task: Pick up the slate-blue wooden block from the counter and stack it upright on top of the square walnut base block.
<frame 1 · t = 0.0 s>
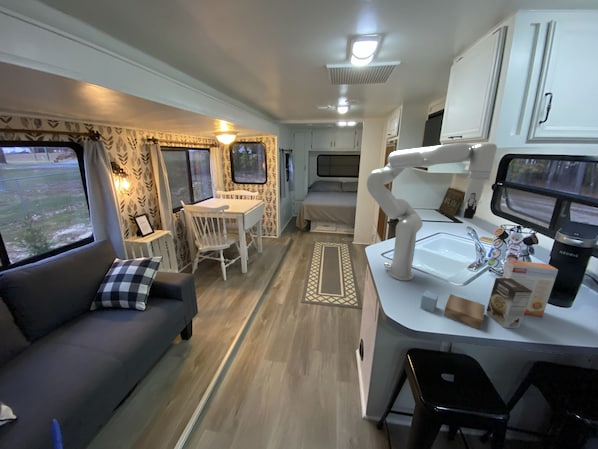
hand: (469, 216, 101), 37 cm above the worktop, tool pointing down, fingers open, 9 cm apart
cracker box: (517, 309, 99), on the worktop
blue block: (428, 307, 99), on the worktop
walnut base: (463, 314, 95), on the worktop
coffee box: (501, 320, 92), on the worktop
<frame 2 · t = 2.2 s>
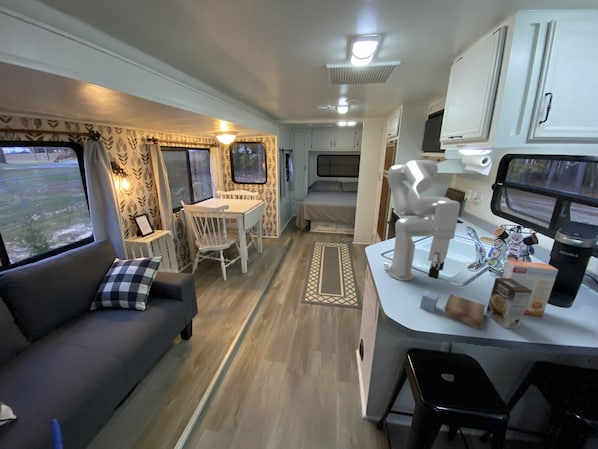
hand: (435, 273, 94), 16 cm above the worktop, tool pointing down, fingers open, 9 cm apart
nothing on the worktop moved.
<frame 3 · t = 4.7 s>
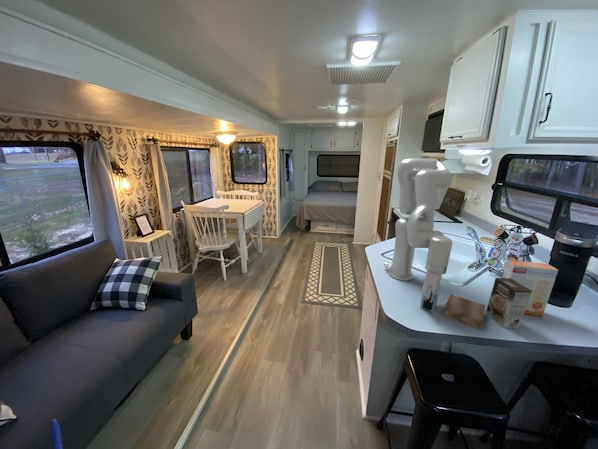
hand: (428, 305, 99), 1 cm above the worktop, tool pointing down, fingers closed on blue block, 5 cm apart
blue block: (428, 307, 99), on the worktop, touching gripper
everything else where it was.
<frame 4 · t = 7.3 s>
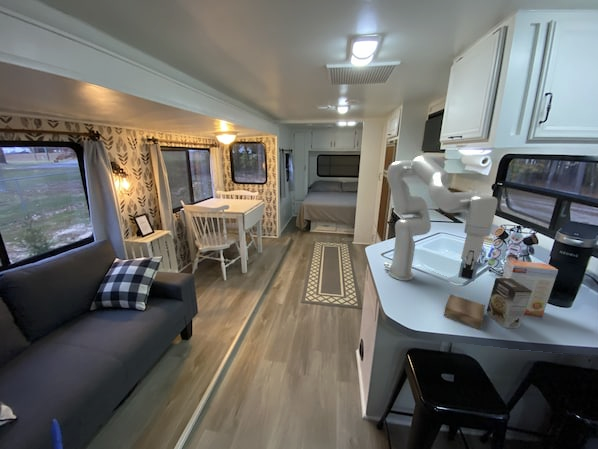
hand: (467, 274, 90), 18 cm above the worktop, tool pointing down, fingers closed on blue block, 5 cm apart
blue block: (466, 276, 91), point 17 cm above the worktop, touching gripper
everything else where it was.
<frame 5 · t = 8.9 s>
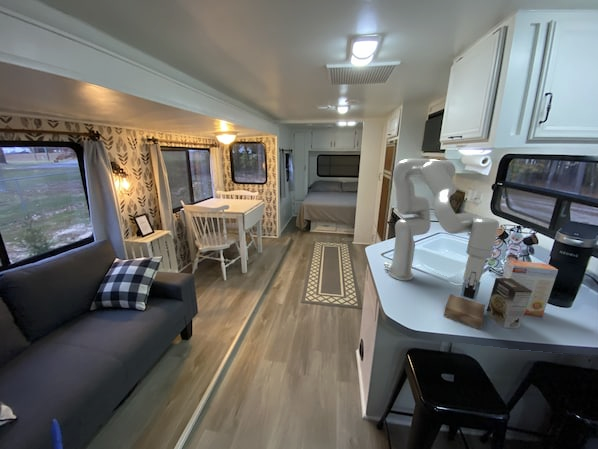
hand: (469, 293, 92), 10 cm above the worktop, tool pointing down, fingers closed on blue block, 5 cm apart
blue block: (468, 295, 92), point 9 cm above the worktop, touching gripper
everything else where it was.
when the fingers open (6 cm above the worktop, at t = 10.4 s): blue block drops 1 cm, resting on walnut base.
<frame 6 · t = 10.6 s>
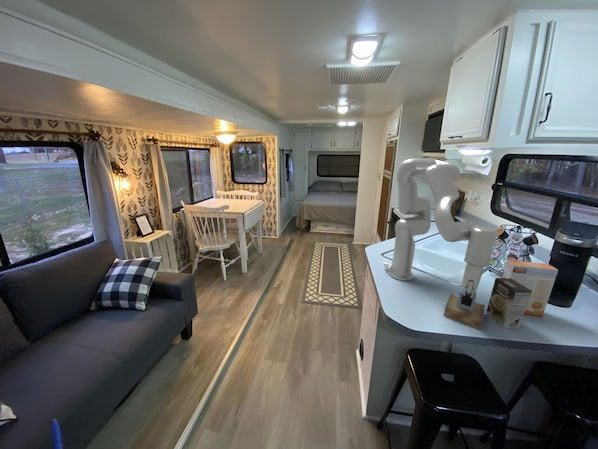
hand: (466, 300, 93), 7 cm above the worktop, tool pointing down, fingers open, 7 cm apart
blue block: (465, 306, 94), point 4 cm above the worktop, touching walnut base
everything else where it was.
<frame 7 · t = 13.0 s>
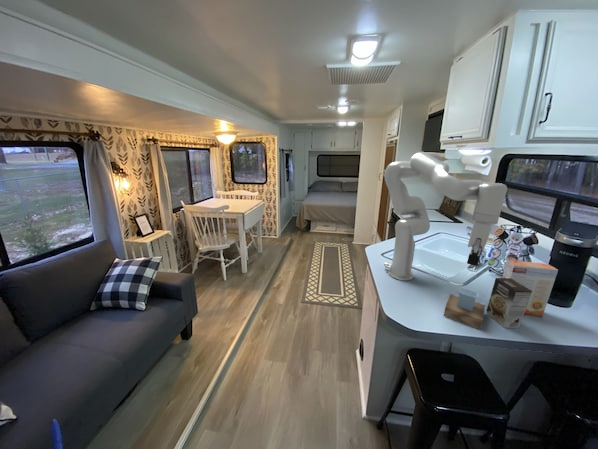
hand: (473, 260, 90), 23 cm above the worktop, tool pointing down, fingers open, 9 cm apart
nothing on the worktop moved.
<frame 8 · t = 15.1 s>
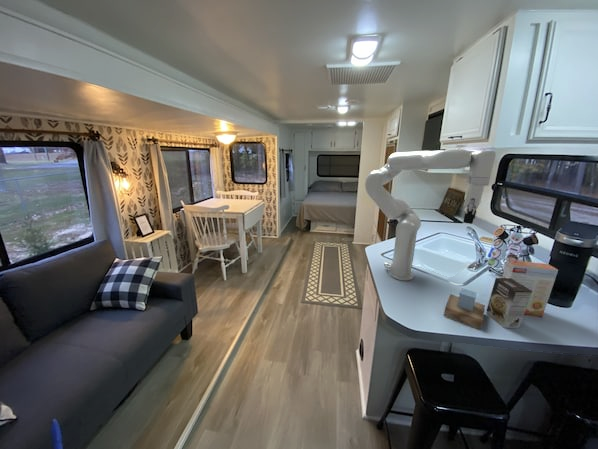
hand: (468, 220, 103), 34 cm above the worktop, tool pointing down, fingers open, 9 cm apart
nothing on the worktop moved.
at the end: blue block 0.0 cm off-centre on the walnut base, point 4.0 cm above the walnut base's base; blue block tilted 0°; the gripper is holding nothing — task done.
